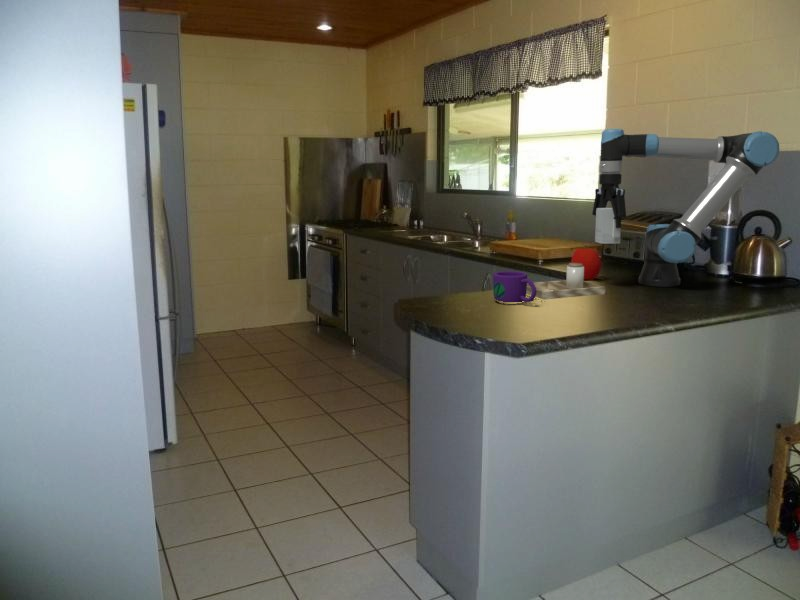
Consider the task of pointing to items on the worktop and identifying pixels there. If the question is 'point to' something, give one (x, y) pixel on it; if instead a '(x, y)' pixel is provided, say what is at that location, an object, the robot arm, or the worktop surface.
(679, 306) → the worktop surface
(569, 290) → the rack
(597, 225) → the supplement box
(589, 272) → the tomato
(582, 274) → the ceramic jar
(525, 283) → the mug
